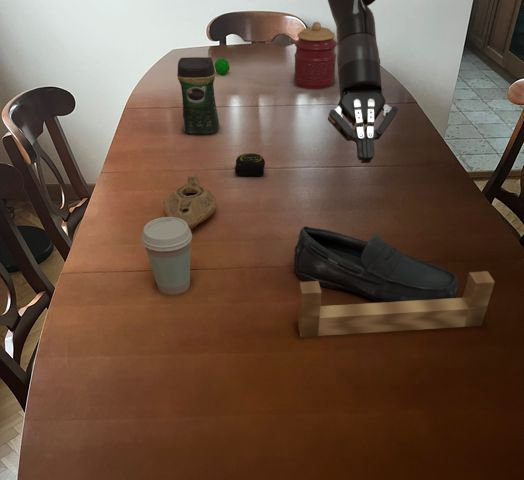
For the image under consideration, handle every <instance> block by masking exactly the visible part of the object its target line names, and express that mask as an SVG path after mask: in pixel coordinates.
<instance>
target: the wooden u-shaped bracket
mask: <svg viewBox="0 0 524 480" xmlns="http://www.w3.org/2000/svg"><path fill="white" fill-rule="evenodd" d="M467 276H468V277H467V280H466V284H465V287H464V291H463V295H462V297H455V298H450V299H433V300H416V301H399V302H382V303H378V302H368V303H366V302H365V303H350V304H335V305H332V304H331V305H321V304H322V288H321V287H320V285H319V281H310V282H305V281H300V282H299V286H298V287H299V288H298V290H299V291H298V320H297V327H298V332H299V337H301V338H305V337H320V336H336V335H337V336H339V335H352V334H353V335H354V334H355V335H356V334H370V333H371V334H372V333H386V332H388V333H389V332H402V331H419V330H420V331H421V330H436V329H437V330H438V329H449V328H450V329H451V328H467V327H481V326H482V325H483V322H484V319H485V316H486V313H487V309H488V306H489V302H490V299H491V296H492V292H493V289H494V285H495V280H494V278H493V277H492V276H491V274H490V272H489V271H488V270H487V271H486V270H484V271H469V272H468V275H467Z"/></svg>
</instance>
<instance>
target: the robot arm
mask: <svg viewBox="0 0 524 480" xmlns="http://www.w3.org/2000/svg"><path fill="white" fill-rule="evenodd" d="M375 1H376V0H327V3H328V6H329V9H330V12H331V15H332V18H333V21H334V23H335V29H336V31H335V32H336V42H337V46H336V47H337V53H336V58H337V59H336V63H337V75H338V87H339V101H338V103H337V106H336V108H333V109H331V110H330V111H329V113H328V116H327V121H328V122H329V123H330V124H331V125H332V126H333V127H334V129H335V130H336V131H337V132H338V133H339V134H340V135H341V136H342V138H344V140H345V141H346V142H354V143H355V144H356V155H357V156H356V157H357V160H358V161H360V164H370V163H371V162H372V160H373V158H374V157H375V155H376V154H375V143H374V141H376V140H377V141H378V140H380V138H381V137H382V135H383V134H384V133H385V131H386V130H387V128H388V127H389V125H390V124H391V122H392V121H393V120H394V118H395V117H396V115H397V113H398V111H399V109H398V107H397V106H395V105H394V106H390V105H389V104H388V103H386V98H385V97H384V94H383V89H382V77H381V76H382V75H381V58H380V52H379V47H378V42H377V41H378V40H377V32H376V30H377V29H376V20H375V17H374V13H373V11H372V9H371V8H370V7H369V6H371V5H372V4H373V3H375ZM381 112H382V114H381V116H382V118H383V120H382V121H381V123H380V124H379V125H378V127H377V129H375V122H376V120H377V118H378V117H379V115H380V113H381ZM343 116H344V118H345V119H346V120H347V121H348V122H349V123H351V125H350V124H349V123H347V121H346V120H345V119H344V118H343Z"/></svg>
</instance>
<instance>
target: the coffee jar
mask: <svg viewBox="0 0 524 480" xmlns="http://www.w3.org/2000/svg"><path fill="white" fill-rule="evenodd" d="M177 62H178V63H177V80H178V83H179V84H180V89H181V97H182V99H181V100H182V128H183V132H184V133H185V134H187V135H189V136H211V135H214V134H216V133H218V132H219V129H220V121H219V115H218V110H217V104H216V96H215V88H214V86H215V85H214V82H215V80H216V79H215V78H216V70H215V66H214V65H215V64H214V61H213V57H210V56H207V57H206V56H202V57H200V56H199V57H198V56H194V57H180V59H179V60H178V61H177Z"/></svg>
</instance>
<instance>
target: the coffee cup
mask: <svg viewBox="0 0 524 480" xmlns="http://www.w3.org/2000/svg"><path fill="white" fill-rule="evenodd" d="M192 239H193V234H192V229H190V228H189V227H188V225H187V223H186V222H185V221H184V220H182V219H180V218H176V217H168V216H162V217H158V218H155V219H152V220H150V221H149V222H147V223H146V224H145V225H144V227H143V231H142V234H141V244H142V245H143V246H144V247H145V250H146V254H147V258H148V260H149V263H150V267H151V270H152V274H153V277H154V280H155V282H156V283H155V284H156V287H157V290H158V291H159V292H161V293H162V294H165V295H170V296H171V295H172V296H174V295H179V294H182V293H185V292H186V291H187V290H189V288H190V287H191V254H192V253H191V249H192V248H191V247H192V244H191V243H192Z"/></svg>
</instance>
